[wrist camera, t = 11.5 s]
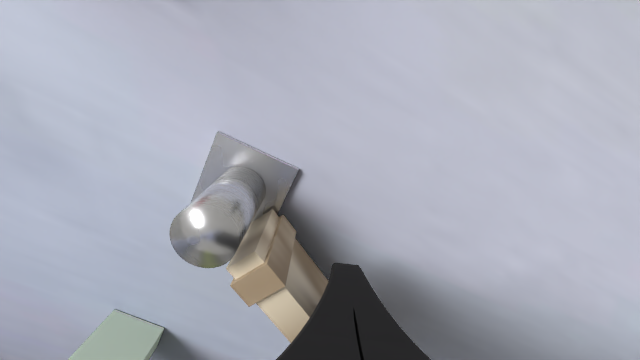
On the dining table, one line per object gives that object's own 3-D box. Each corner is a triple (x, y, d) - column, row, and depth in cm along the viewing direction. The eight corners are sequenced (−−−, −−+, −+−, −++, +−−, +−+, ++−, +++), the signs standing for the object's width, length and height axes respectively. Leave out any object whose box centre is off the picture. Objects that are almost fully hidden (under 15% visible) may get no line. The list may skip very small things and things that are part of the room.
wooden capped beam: (248, 222, 13) (220, 274, 10) (276, 205, 13) (257, 252, 10) (356, 356, 16) (365, 438, 12) (382, 343, 15) (399, 424, 12)
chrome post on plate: (266, 237, 14) (239, 306, 10) (190, 204, 13) (128, 262, 9) (298, 168, 13) (285, 212, 9) (218, 131, 12) (162, 157, 8)
